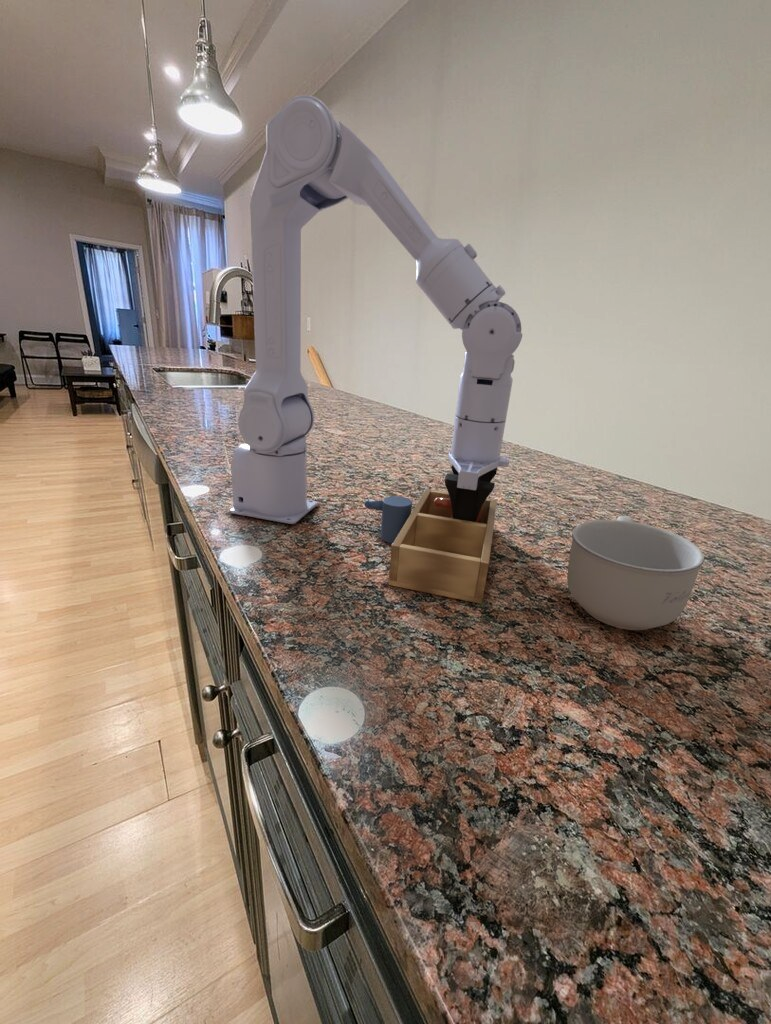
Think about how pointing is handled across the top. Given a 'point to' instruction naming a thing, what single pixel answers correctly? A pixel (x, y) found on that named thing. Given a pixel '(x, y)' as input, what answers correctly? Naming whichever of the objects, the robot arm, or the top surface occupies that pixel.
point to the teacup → (631, 572)
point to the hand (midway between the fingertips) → (464, 526)
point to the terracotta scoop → (447, 504)
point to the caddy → (443, 551)
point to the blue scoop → (391, 515)
